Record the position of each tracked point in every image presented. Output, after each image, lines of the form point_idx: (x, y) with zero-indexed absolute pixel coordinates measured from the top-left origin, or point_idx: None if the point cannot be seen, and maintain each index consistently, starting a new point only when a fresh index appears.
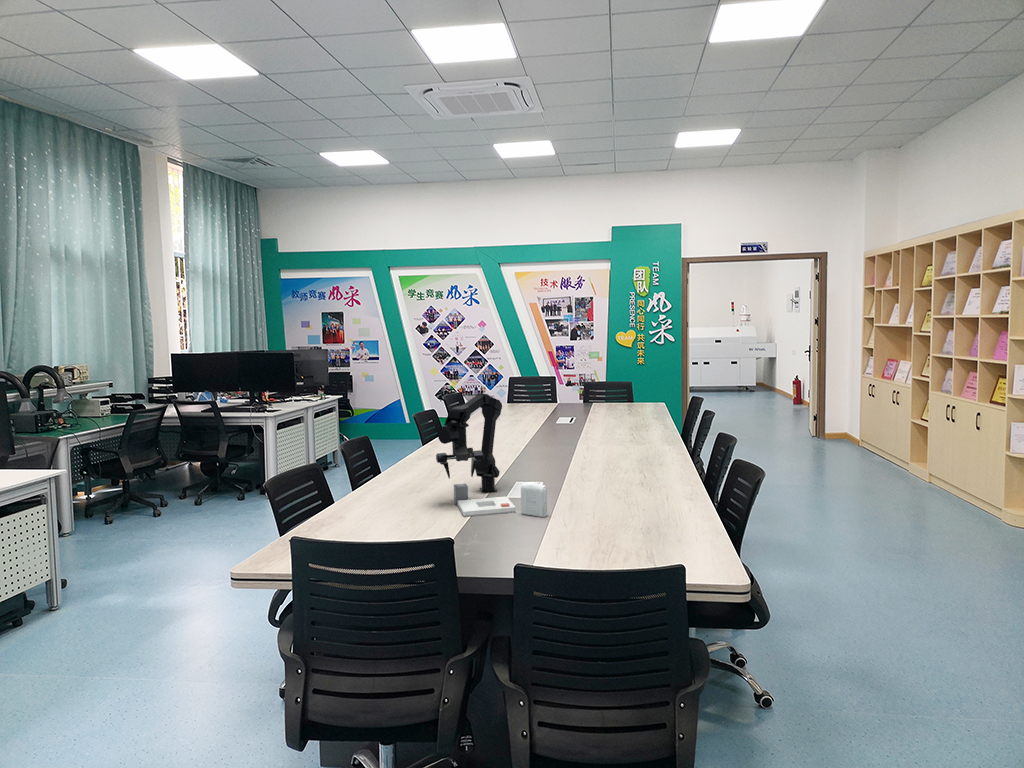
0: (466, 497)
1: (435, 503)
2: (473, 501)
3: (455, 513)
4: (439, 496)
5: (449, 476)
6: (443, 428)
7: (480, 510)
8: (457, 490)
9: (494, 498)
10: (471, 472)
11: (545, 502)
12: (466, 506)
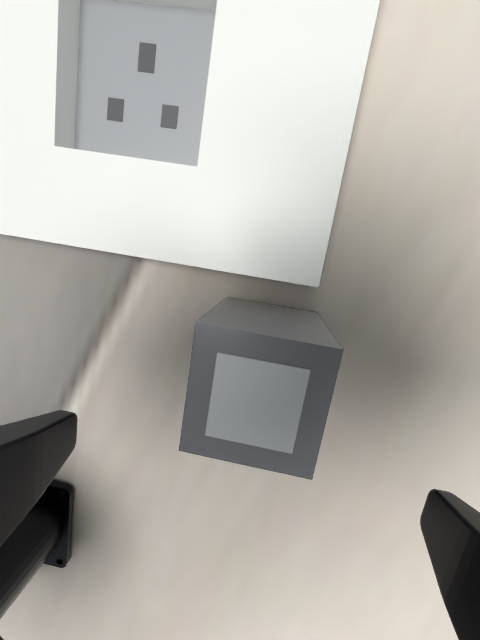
0: (232, 305)
1: (440, 410)
2: (206, 194)
3: (412, 64)
4: (347, 547)
5: (461, 512)
6: None
7: None
8: (314, 334)
9: (29, 208)
10: (22, 461)
11: None
12: (314, 54)
